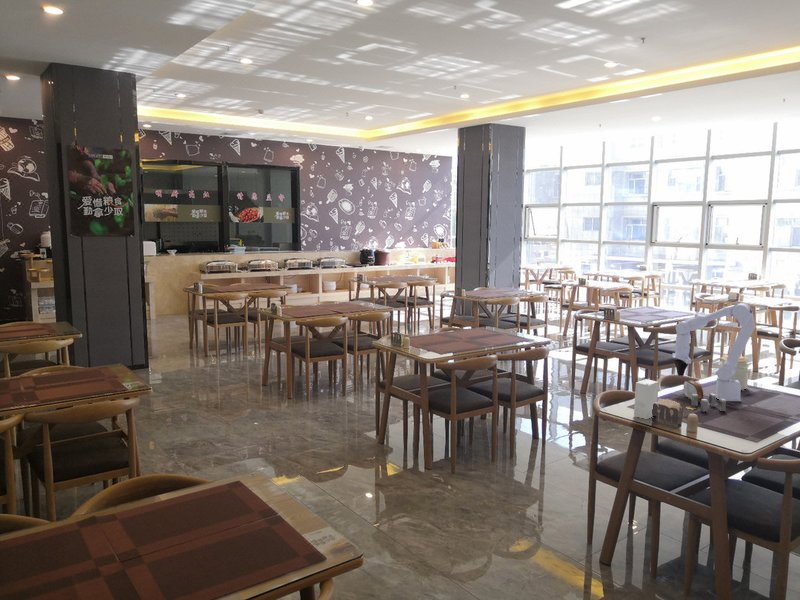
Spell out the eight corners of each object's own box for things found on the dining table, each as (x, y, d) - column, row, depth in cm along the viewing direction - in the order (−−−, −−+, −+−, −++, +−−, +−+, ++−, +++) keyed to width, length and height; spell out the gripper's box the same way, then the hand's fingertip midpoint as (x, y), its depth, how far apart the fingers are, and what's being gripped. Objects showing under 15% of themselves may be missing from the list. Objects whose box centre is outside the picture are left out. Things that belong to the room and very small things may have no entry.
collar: (712, 405, 272) (713, 393, 271) (715, 406, 270) (715, 394, 269) (691, 405, 272) (691, 393, 271) (693, 406, 270) (694, 395, 269)
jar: (724, 382, 311) (726, 348, 309) (752, 388, 301) (754, 352, 298) (712, 387, 303) (714, 351, 301) (740, 392, 293) (742, 355, 290)
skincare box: (643, 413, 260) (645, 378, 258) (657, 416, 255) (659, 381, 253) (632, 417, 255) (634, 381, 253) (646, 420, 250) (648, 384, 248)
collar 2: (722, 410, 264) (723, 398, 263) (725, 411, 262) (726, 400, 261) (700, 410, 264) (701, 398, 263) (702, 411, 262) (703, 400, 261)
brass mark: (693, 407, 269) (693, 406, 269) (697, 409, 265) (697, 408, 265) (683, 407, 269) (683, 406, 269) (688, 409, 265) (688, 408, 265)
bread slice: (703, 404, 273) (704, 385, 272) (696, 404, 273) (697, 385, 272) (688, 395, 288) (689, 377, 287) (681, 395, 288) (682, 377, 287)
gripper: (666, 344, 297) (665, 371, 298) (681, 350, 282) (679, 379, 284) (681, 344, 297) (679, 371, 299) (696, 350, 282) (694, 379, 284)
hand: (680, 375), depth 291 cm, fingers closed
